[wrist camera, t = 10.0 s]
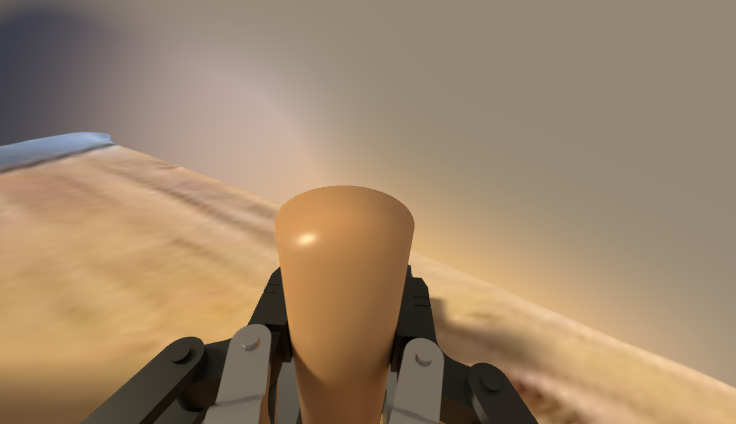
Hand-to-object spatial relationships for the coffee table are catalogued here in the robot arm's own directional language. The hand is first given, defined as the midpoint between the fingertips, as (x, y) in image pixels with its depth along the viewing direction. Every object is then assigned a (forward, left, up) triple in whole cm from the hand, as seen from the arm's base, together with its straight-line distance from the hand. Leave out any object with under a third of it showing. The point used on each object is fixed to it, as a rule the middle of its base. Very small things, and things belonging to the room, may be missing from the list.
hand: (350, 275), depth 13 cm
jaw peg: (0, -3, -7) cm, 8 cm away
